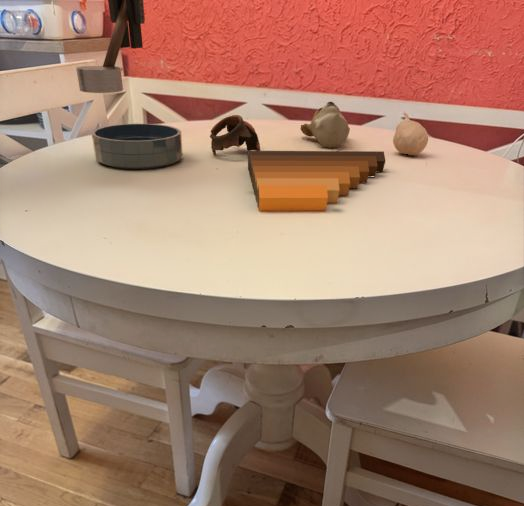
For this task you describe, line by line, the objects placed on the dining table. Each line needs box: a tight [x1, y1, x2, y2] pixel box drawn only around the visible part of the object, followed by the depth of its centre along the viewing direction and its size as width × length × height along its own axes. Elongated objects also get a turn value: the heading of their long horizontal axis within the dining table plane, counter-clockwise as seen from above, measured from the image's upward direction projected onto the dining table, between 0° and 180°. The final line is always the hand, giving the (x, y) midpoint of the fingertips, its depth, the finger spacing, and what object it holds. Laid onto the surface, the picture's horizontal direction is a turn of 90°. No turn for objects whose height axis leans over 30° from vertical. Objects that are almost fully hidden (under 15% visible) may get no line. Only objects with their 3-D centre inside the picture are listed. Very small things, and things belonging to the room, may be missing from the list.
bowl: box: [91, 123, 184, 170], centre depth 94 cm, size 16×16×5 cm
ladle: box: [75, 0, 128, 94], centre depth 77 cm, size 18×6×14 cm, turn 164°
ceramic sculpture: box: [300, 101, 351, 149], centre depth 110 cm, size 11×9×15 cm
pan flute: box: [247, 150, 386, 212], centre depth 83 cm, size 25×3×25 cm
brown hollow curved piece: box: [209, 114, 261, 156], centre depth 100 cm, size 12×10×8 cm
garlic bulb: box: [392, 111, 429, 156], centre depth 103 cm, size 7×6×8 cm
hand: (130, 47), depth 82 cm, fingers closed on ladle, 2 cm apart
